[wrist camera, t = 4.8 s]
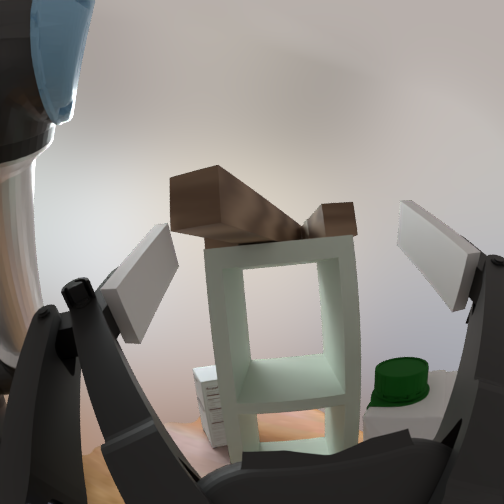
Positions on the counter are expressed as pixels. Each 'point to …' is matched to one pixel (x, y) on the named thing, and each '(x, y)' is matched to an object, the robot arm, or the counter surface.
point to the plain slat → (226, 210)
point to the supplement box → (210, 404)
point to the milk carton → (407, 399)
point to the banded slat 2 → (330, 221)
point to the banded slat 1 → (217, 244)
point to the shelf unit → (290, 368)
